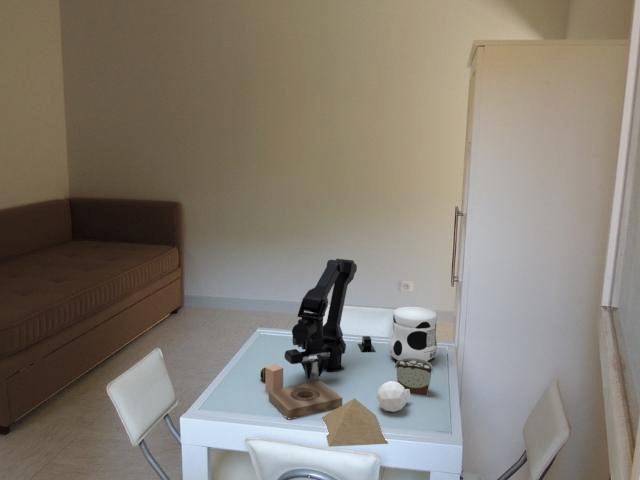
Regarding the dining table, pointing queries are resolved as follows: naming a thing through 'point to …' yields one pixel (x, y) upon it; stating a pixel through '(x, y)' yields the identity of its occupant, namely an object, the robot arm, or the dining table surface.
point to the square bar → (273, 378)
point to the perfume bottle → (392, 396)
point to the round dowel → (314, 370)
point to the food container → (414, 375)
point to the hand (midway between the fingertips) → (313, 377)
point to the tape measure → (263, 374)
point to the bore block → (305, 399)
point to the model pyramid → (353, 426)
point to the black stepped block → (366, 345)
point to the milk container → (414, 334)
